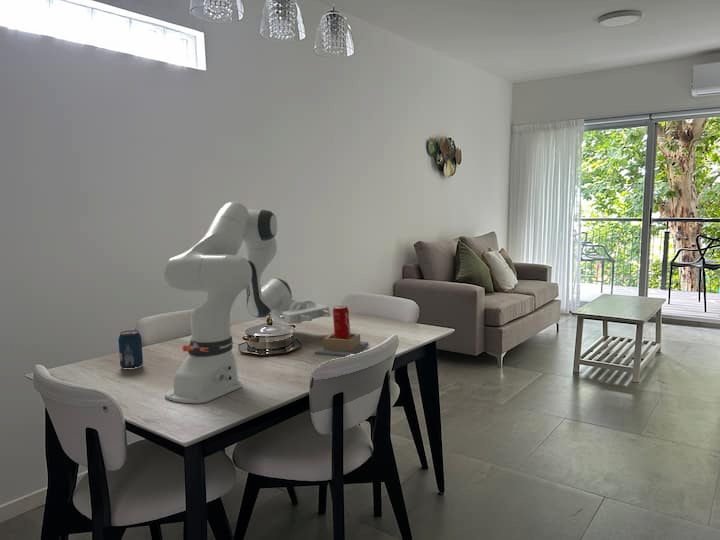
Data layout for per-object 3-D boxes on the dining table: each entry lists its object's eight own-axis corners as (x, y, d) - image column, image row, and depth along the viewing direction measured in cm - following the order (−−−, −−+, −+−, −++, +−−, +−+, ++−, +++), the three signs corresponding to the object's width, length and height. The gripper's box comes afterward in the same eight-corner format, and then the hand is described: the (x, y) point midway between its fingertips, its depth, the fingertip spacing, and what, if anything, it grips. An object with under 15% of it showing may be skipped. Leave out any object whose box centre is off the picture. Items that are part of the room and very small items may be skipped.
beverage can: (349, 349, 191) (348, 308, 189) (331, 348, 192) (331, 308, 190) (352, 344, 197) (351, 305, 195) (335, 344, 198) (334, 304, 196)
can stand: (351, 357, 184) (351, 343, 183) (314, 354, 188) (314, 340, 188) (368, 344, 200) (367, 331, 200) (333, 341, 205) (333, 329, 204)
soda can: (138, 363, 180) (135, 328, 179) (146, 367, 175) (144, 332, 174) (117, 367, 175) (114, 332, 174) (125, 372, 171) (122, 336, 169)
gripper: (275, 308, 203) (298, 313, 193) (315, 300, 218) (338, 304, 208) (275, 324, 204) (299, 329, 194) (315, 315, 218) (338, 320, 209)
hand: (319, 316), depth 201 cm, fingers open, 8 cm apart
